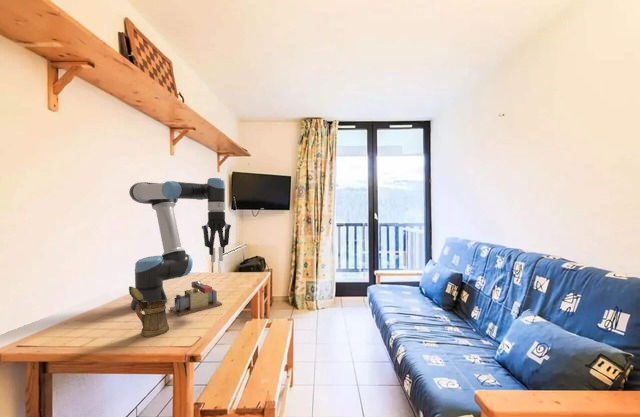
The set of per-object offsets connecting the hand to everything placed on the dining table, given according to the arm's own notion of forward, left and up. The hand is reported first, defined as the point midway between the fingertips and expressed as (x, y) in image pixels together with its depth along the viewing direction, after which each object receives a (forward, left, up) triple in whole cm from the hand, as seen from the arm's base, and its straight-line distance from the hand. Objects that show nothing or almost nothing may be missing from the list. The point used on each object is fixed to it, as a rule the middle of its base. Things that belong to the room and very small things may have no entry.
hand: (217, 261), depth 130 cm
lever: (-4, -6, -13) cm, 14 cm away
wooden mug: (+5, -29, -23) cm, 37 cm away
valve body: (-10, -6, -23) cm, 25 cm away
